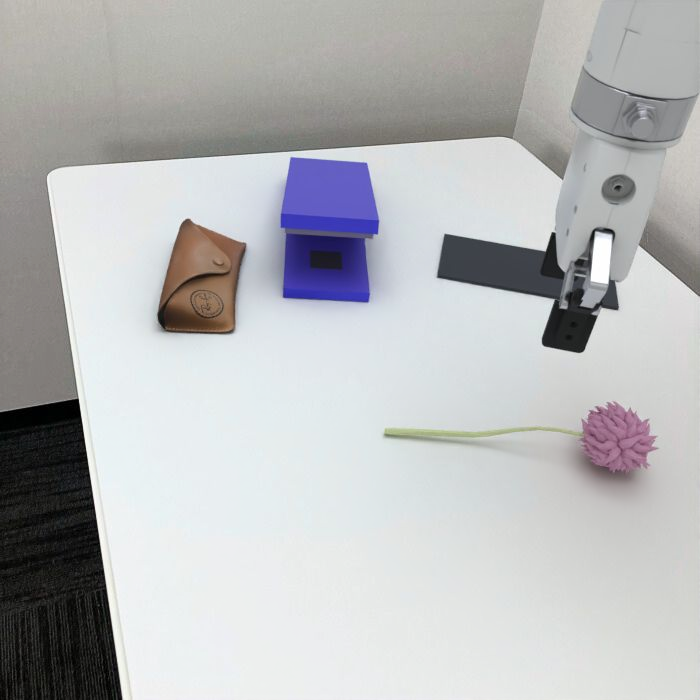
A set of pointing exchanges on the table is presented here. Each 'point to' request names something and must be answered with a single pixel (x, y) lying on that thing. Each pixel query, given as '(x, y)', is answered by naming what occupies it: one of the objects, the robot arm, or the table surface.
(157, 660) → the table surface
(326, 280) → the stapler
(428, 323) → the table surface
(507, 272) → the runner
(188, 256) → the sunglasses case
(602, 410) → the artificial flower
